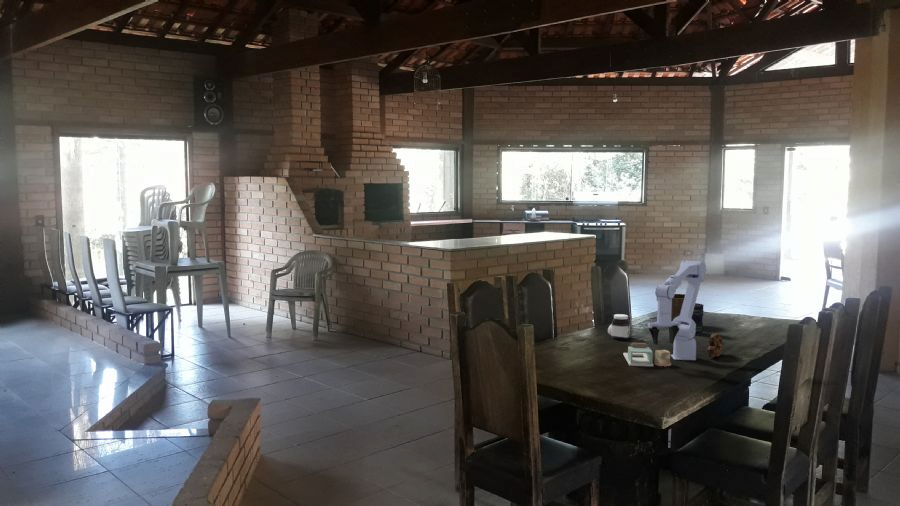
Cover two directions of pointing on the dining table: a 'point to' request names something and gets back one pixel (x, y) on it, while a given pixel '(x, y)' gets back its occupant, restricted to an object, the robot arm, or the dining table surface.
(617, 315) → the spread jar
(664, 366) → the coaster
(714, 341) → the wooden carving
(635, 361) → the board
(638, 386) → the dining table surface
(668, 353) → the block
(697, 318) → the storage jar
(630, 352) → the pale green open box
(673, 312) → the plant pot
